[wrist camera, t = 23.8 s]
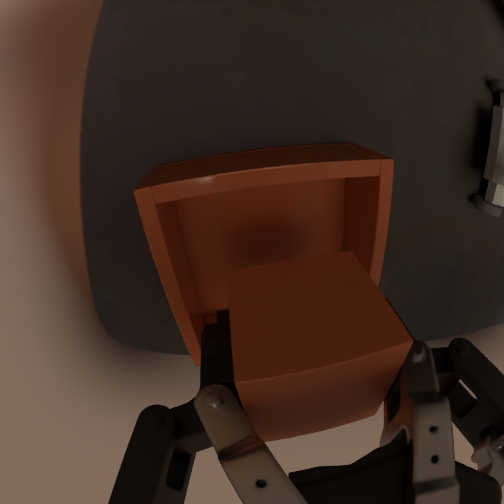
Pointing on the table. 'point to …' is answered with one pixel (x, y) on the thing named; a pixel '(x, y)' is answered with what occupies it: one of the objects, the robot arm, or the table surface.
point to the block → (311, 344)
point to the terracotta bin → (260, 218)
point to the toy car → (494, 160)
